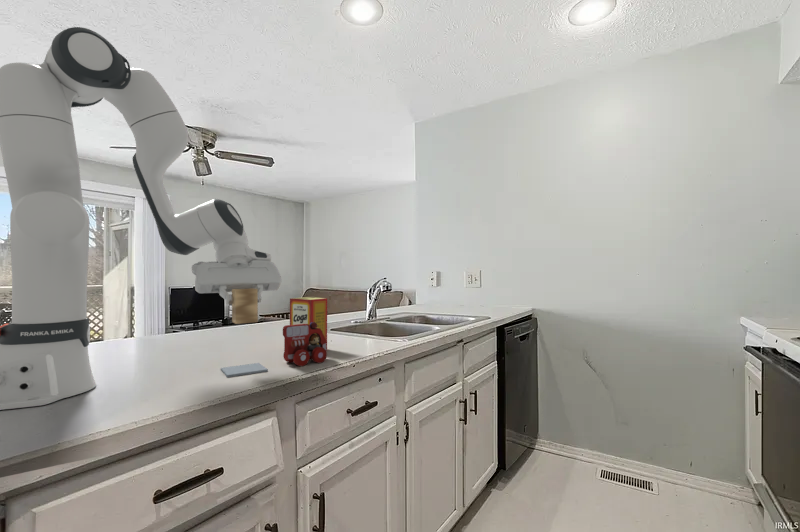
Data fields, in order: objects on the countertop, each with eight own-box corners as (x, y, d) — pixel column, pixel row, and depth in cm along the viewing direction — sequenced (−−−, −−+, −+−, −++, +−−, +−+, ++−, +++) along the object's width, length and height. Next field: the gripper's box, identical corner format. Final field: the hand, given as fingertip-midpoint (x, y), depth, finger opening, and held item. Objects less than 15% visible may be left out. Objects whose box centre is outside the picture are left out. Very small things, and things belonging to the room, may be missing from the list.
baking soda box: (327, 349, 119) (327, 297, 120) (311, 352, 114) (311, 298, 114) (305, 345, 125) (305, 296, 125) (289, 349, 119) (289, 297, 119)
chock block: (235, 323, 91) (235, 289, 91) (232, 322, 94) (231, 289, 94) (257, 322, 93) (257, 288, 93) (253, 320, 97) (253, 288, 97)
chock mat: (227, 377, 87) (227, 375, 87) (220, 369, 94) (220, 367, 94) (267, 371, 93) (267, 369, 93) (258, 364, 99) (258, 362, 99)
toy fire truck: (333, 360, 104) (333, 322, 104) (290, 368, 95) (290, 326, 96) (319, 356, 109) (319, 319, 109) (277, 363, 100) (277, 323, 101)
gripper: (191, 252, 94) (197, 295, 86) (276, 254, 106) (288, 291, 98) (189, 271, 98) (195, 313, 90) (271, 270, 110) (282, 307, 102)
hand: (244, 301), depth 94 cm, fingers closed on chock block, 5 cm apart
